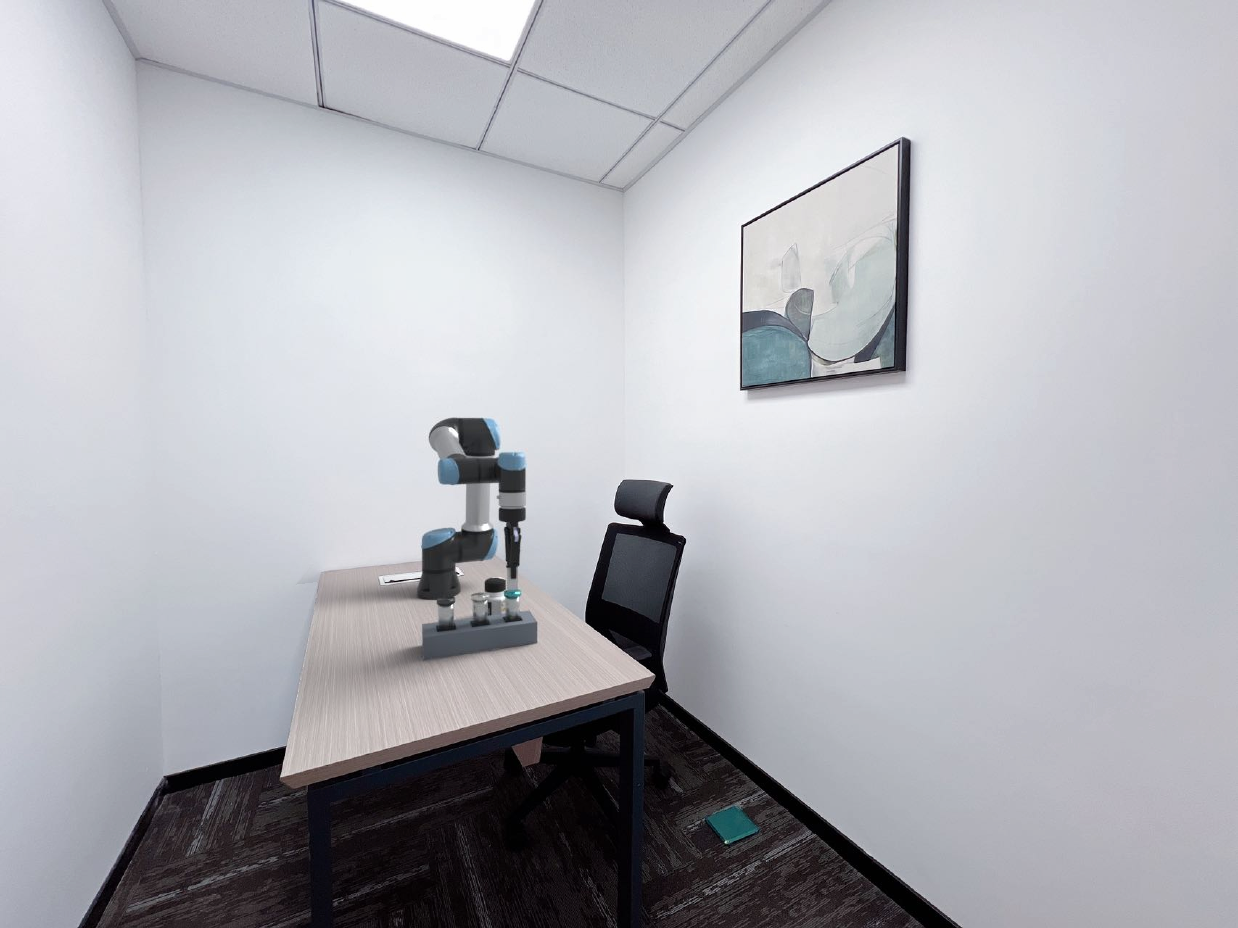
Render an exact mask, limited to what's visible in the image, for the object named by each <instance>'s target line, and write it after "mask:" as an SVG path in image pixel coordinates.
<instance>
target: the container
mask: <svg viewBox="0 0 1238 928" xmlns="http://www.w3.org/2000/svg"><path fill="white" fill-rule="evenodd" d="M506 582H507V579H505V578H503V577H502V576H501V577H500V576H493V577H488V578H487V579H485V580H484V593H488V594H489V599H488V600H487V602H488V616H490V615H497V614H505V597H504V591H506V590H507V583H506Z"/></svg>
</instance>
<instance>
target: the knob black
mask: <svg viewBox="0 0 1238 928" xmlns="http://www.w3.org/2000/svg"><path fill="white" fill-rule="evenodd" d="M455 603H456V597H455V596H444V597H440V598H438V599H436V605H437V609H438V610H437V614H438V615H437V618H438V619H437V620H438V621H437V622H438V630H439V631H440V632H442V631H449V630H453V629H454V620H455V607H454V606H455V605H454V604H455Z"/></svg>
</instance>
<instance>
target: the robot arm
mask: <svg viewBox="0 0 1238 928" xmlns="http://www.w3.org/2000/svg"><path fill="white" fill-rule="evenodd" d="M428 442H429V445H430V447H431V449H433V451H435V452H436V453H437V455H438V458H439V460H438V462H437V479H438V482H439V484H441V485H450V486H455V485H456V486H457V485H458V486H459V485H465V488H466V489H465V522H464V523H463V524H462V525H461V527H460V528H461V529H460V530H459V531H456V529H455V528H454V527H441V528H436V529H433V530H429V531H427V532H425V533H424V534H423V535H422V536H421V537H422V538H421V545H420V548H421V576H420V579H419V583H418V585H417V590H416V595H417V597H419V598H422V599H424V600H425V599H427V600H437V599H438V598H440V597H444V596H452V597H455V596H456V595H457V596H458V594H460V593H461V592H462V591H461V590H462V589H461V587H462V586H461V582H460V579H459V577H458V574H457V571H456V569H457V568H456V564H462V563H463V564H464V563H473V562H483V561H488V560H492V559H493V558H494V557H495V556H496V553H497V550H498V543H499V539H498V537H499V535H498V530H496V529H495V528H494V525H493V524H492V523H491V521H490V508H491V507H490V503H491V502H490V501H491V498H490V497H491V494H490V493H491V484H498V495H496V499H497V500H498V506H499V508H498V520H499V522H502V523H505V526H504V528H503V532H504V549H505V550H504V552H505V562H506V565H505V567H506V569H507V571H506V573H507V574H506V576H507V577H506V582H507V583H506V590H515V589H518V590H519V573H518V572H519V571H518V570H519V568H518V567H520V560H521V558H520V557H521V543H522V542H521V541H522V538H523V537H522V534H521V533H522V532H521V527H519V522H524V521H526V519H527V518H526V517H527V514H526V511H527V508H526V507H525V506H526V504H527V491H526V490H527V489H526V487H527V485H526V484H527V483H526V482H527V481H526V478H527V474H526V472H527V471H526V468H527V461H526V455H525V453H524V452H522V451H521V452H520V451H519V452H518V451H516V452H515V451H504V452H503V451H502V452H500V453H499V454H498V456H497V457H495V456H496V451H500V449H501V435H500V429H499V425H498V423H497V421H495V419H494V418H493V419H492V418H487V417H486V418H485V417H448V418H445V419H442V420H440V421H438V422H437V423H436V424H434V425H433V427H432V428H431V429H430V430H429V433H428Z"/></svg>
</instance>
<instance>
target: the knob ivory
mask: <svg viewBox="0 0 1238 928" xmlns="http://www.w3.org/2000/svg"><path fill="white" fill-rule="evenodd" d="M488 599H489V594H488V593H485V592H475V593H473V594H471V596H470V600H471V601H472V618H473V626H474V627H479V626H486V625H488V602H487V600H488Z"/></svg>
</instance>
